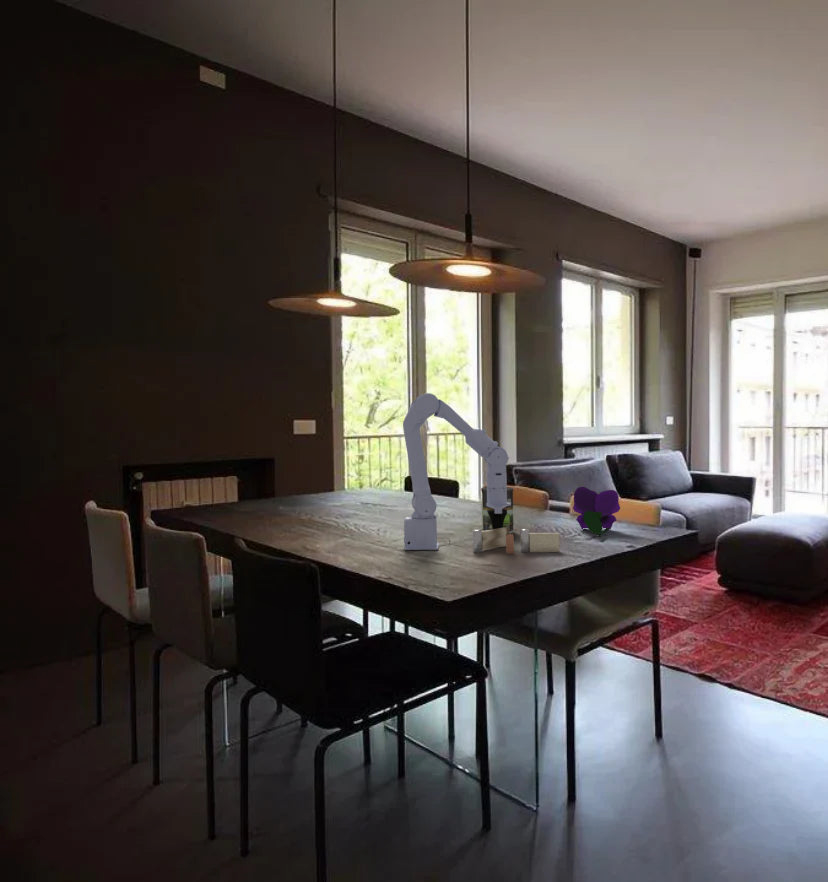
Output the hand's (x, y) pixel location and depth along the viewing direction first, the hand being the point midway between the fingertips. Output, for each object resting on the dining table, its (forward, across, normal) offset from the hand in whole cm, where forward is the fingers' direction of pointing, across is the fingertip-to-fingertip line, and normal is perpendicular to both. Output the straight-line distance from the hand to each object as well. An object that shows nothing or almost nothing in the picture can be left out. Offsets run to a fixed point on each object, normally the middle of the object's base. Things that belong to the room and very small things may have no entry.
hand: (497, 534), depth 185 cm
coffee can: (+3, +20, -1) cm, 21 cm away
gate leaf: (+2, -5, +1) cm, 6 cm away
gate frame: (+3, -10, -5) cm, 11 cm away
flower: (+3, +17, -32) cm, 36 cm away
